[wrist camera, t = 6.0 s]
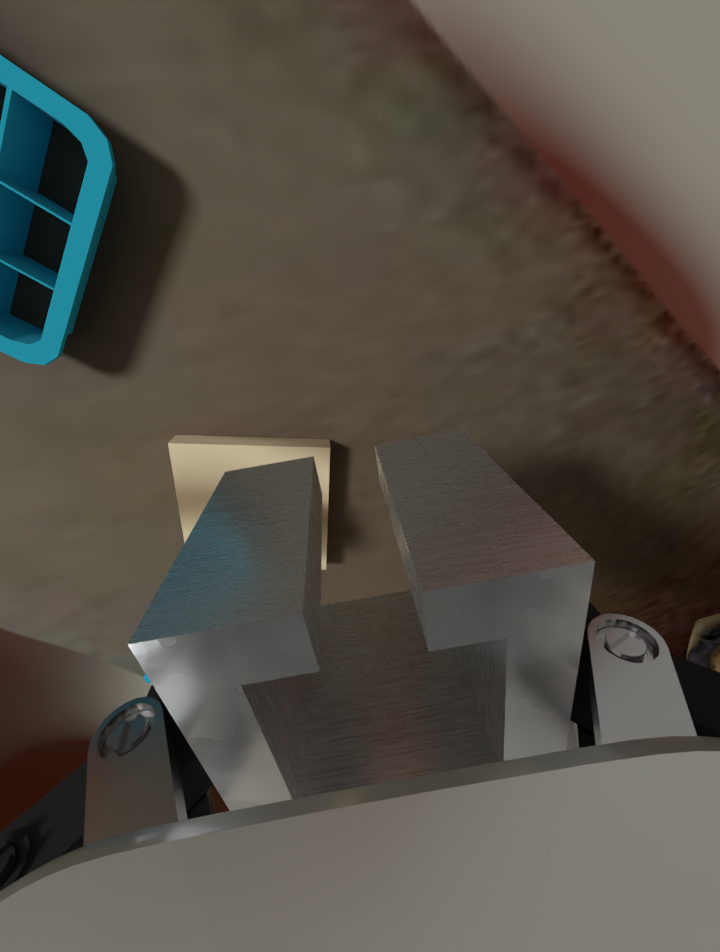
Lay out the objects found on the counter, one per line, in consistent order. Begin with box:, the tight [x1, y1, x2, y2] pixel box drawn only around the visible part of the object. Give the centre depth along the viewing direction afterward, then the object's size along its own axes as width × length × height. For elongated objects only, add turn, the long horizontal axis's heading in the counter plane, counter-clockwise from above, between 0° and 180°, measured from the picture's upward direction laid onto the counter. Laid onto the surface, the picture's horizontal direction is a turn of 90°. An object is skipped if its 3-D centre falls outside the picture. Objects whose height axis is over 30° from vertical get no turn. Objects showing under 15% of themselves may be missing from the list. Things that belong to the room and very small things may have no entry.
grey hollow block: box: [128, 430, 595, 811], centre depth 10 cm, size 7×7×6 cm
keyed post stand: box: [168, 435, 330, 570], centre depth 24 cm, size 10×10×7 cm
